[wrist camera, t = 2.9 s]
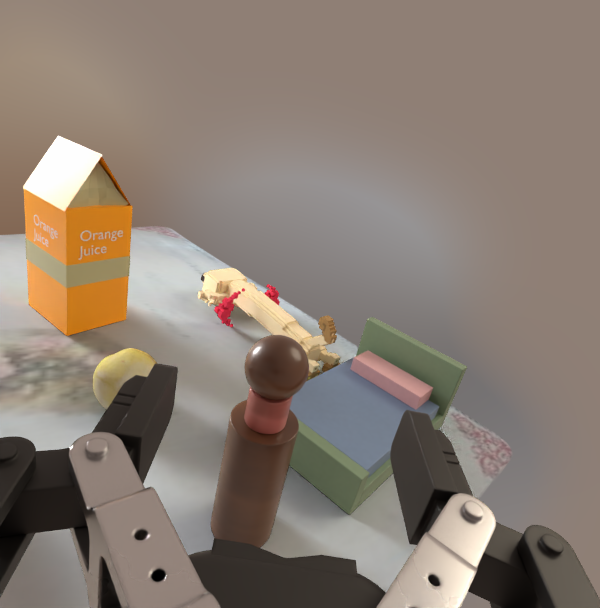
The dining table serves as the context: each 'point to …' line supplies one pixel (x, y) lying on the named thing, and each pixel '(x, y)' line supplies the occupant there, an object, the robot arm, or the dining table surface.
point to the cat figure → (267, 314)
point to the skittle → (259, 442)
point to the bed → (337, 462)
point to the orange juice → (77, 239)
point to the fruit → (119, 373)
